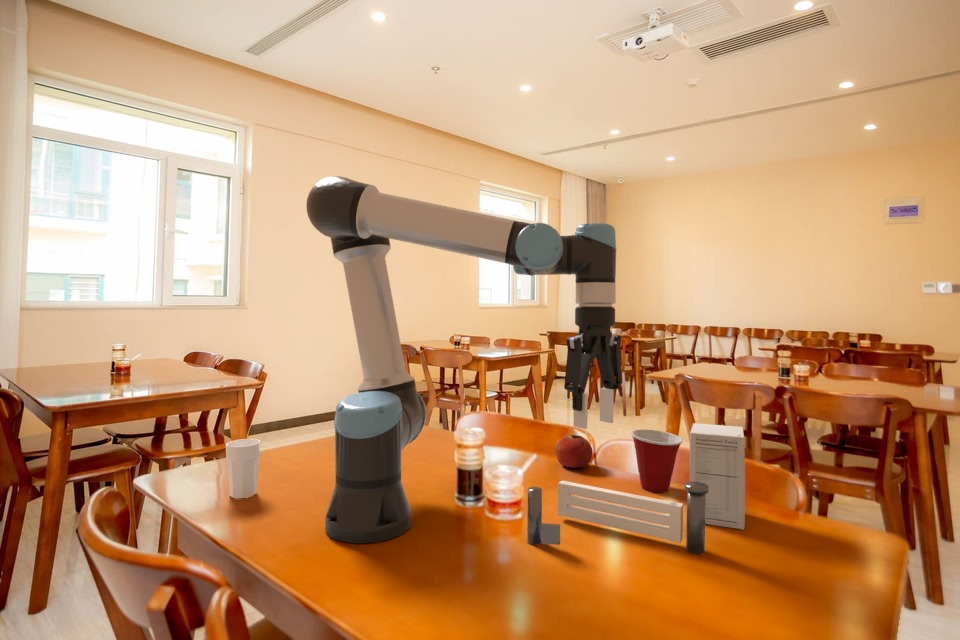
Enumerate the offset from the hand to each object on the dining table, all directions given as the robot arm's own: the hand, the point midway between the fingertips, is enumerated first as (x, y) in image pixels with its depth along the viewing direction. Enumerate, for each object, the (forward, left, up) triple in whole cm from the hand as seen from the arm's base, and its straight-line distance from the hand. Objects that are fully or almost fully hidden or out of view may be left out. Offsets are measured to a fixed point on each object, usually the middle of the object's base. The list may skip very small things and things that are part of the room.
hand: (593, 424), depth 103 cm
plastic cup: (+15, +15, -17) cm, 28 cm away
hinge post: (+15, -15, -17) cm, 27 cm away
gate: (+3, -9, -16) cm, 19 cm away
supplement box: (+23, 0, -17) cm, 29 cm away
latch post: (-10, -15, -17) cm, 25 cm away
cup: (-72, 0, -17) cm, 74 cm away
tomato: (-2, +29, -17) cm, 34 cm away
